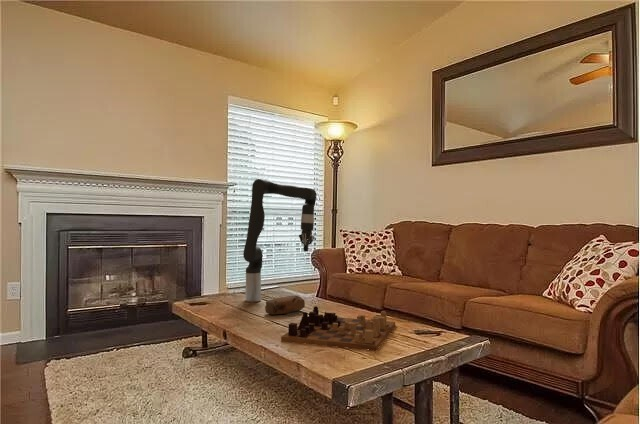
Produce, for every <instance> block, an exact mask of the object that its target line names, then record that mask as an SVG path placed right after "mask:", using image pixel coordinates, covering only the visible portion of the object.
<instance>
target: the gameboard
mask: <svg viewBox="0 0 640 424" xmlns="http://www.w3.org/2000/svg"><path fill="white" fill-rule="evenodd" d="M312 308H313V309H312V311H310V312H307V311H304V312H302V316H301V320H300V323H299V325H298V323H296V322H290V323H288V332H286V333H285V334H283V335H280V340H281V342H282V343H283V342H284V343H292V342H295V343H294V344H302V343H306V344H305V345H312V344H317V345H316V346H322V345H327V346H326V347H332V346H338V347H337V348H342V347H348V348H347V349H351V348H357V349H356V350H361V349H369V350H368V351H371V350H377V351H378V349H379V348H380V347H381V346H382V344H383V343H384V342H383V341H385V340H386V339H387V338H388V336H389V335H390V334H391V332H393V329H394V328H395V327H396V321H393V320H392V321H390V320H389V321H388V320H387V311H385V310H382V311H380V316H378V315H374V316H373V317H371V318H370V319H366V315H364V314H358V315H357V316H356V318H354V317H353V318H352V317H351V318H350V317H338V315H337V314H336V312H327V310H326V311H324V314H321V313H320V314H319V307H318V306H317V305H315V306H313V307H312ZM389 333H390V334H389ZM388 334H389V335H388ZM386 337H387V338H386ZM385 338H386V339H385ZM382 342H383V343H382ZM381 343H382V344H381ZM379 346H380V347H379ZM378 347H379V348H378Z"/></svg>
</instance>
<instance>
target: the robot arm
mask: <svg viewBox="0 0 640 424" xmlns="http://www.w3.org/2000/svg"><path fill="white" fill-rule="evenodd" d="M269 194H270V195H272V194H273V195H280V196H283V197H288V198H295V199H300V200H304V204H303V205H302V209H301V216H300V217H301V218H300V230H301V233H300V234H298V238H299V240H300V242H301V244H302V245H303V252H309V246H310V245H311V244H312V243H313V241H314V239H315V235H313V231H314V226H315V225H314V224H315V223H314V222H315V206H316V201H317V191H316V190H315V189H314V188H310V187H305V186H304V187H303V186H301V187H300V186H296V185H292V184H291V185H290V184H279V183H275V182H272V181H269V180H267V179H263V178H256V179H255V180H254V181H253V182H252V185H251V204H250V211H249V212H250V213H249V218H248V226H247V235H246V240H245V244H244V248H243V252H242V253H243V259H244V260H245V262H248V263H249V264H248V266H246V268H245V301H246V302H249V303H250V302H251V303H253V302H259V301H261V300H262V268H263V251H262V249H261V247H259V246H257V244H258V243H257V242H258V240H259V237H260V235H261V233H262V231H263V228H264V225H265V218H266V217H265V215H266V214H265V209H264V205H263V203H264V202H263V201H264V195H269Z"/></svg>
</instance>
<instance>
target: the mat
mask: <svg viewBox="0 0 640 424" xmlns="http://www.w3.org/2000/svg"><path fill="white" fill-rule="evenodd" d="M296 314H297V315H298V314H301V311H300V310H299V311H295V312H290V313H284V315H288V316H290V315H296Z"/></svg>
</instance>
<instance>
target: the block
mask: <svg viewBox="0 0 640 424" xmlns="http://www.w3.org/2000/svg"><path fill="white" fill-rule="evenodd" d="M305 305H306V302H305V299H304V298H302V297H301V296H299V295H287V296H280V297H276V298H272V299H267V300H266V301H265V306H264V311H265V313H266V314H268V315H282V314H284V313H290V312H295V311H299V312H300V311H302V310H303V309H304V308H305ZM284 315H285V314H284Z"/></svg>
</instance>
